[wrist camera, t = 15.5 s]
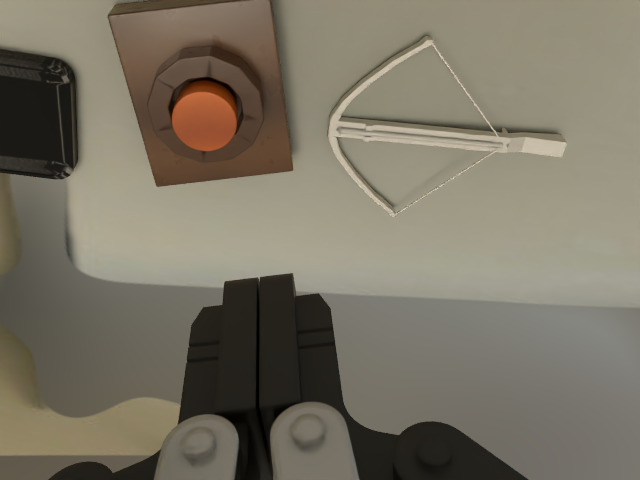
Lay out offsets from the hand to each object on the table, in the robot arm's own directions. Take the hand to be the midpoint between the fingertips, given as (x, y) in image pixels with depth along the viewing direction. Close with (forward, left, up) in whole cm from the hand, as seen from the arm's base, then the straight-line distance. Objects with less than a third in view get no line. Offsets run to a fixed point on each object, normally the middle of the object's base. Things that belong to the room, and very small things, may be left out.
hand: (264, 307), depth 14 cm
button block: (+5, -4, -27) cm, 28 cm away
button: (+5, -4, -23) cm, 24 cm away
